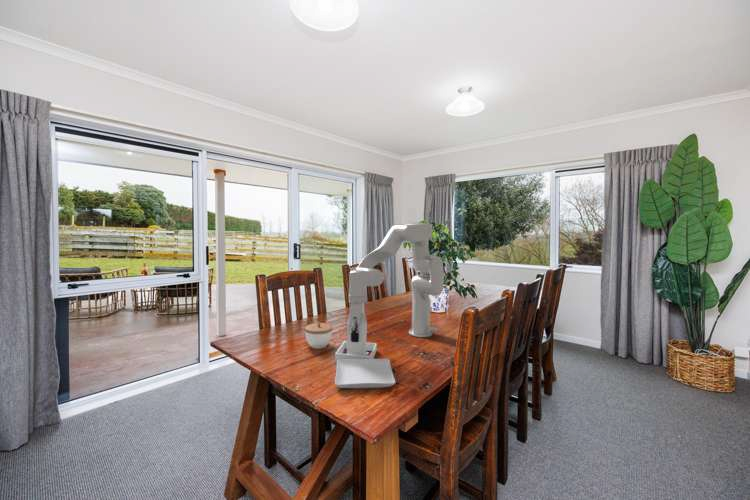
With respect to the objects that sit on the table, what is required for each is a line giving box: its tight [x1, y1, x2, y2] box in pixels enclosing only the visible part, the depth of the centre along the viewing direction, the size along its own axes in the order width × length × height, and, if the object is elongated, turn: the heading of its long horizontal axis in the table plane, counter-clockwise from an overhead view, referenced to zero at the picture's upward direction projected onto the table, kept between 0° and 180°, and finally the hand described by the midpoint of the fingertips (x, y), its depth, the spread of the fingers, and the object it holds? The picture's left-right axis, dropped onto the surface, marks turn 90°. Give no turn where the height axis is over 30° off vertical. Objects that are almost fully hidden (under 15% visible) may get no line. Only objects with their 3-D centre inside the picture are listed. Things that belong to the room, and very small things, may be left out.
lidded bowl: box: [304, 322, 333, 350], centre depth 151 cm, size 13×13×11 cm
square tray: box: [334, 340, 378, 363], centre depth 140 cm, size 15×15×4 cm
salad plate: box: [334, 358, 396, 389], centre depth 120 cm, size 21×21×3 cm
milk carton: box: [346, 312, 368, 355], centre depth 139 cm, size 7×7×19 cm
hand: (357, 338), depth 140 cm, fingers open, 8 cm apart
